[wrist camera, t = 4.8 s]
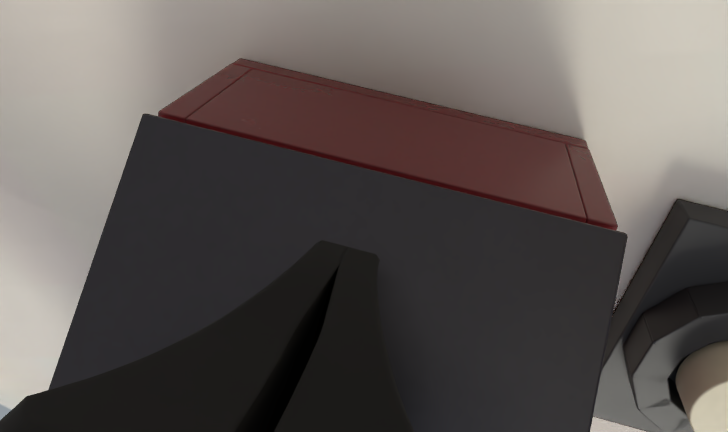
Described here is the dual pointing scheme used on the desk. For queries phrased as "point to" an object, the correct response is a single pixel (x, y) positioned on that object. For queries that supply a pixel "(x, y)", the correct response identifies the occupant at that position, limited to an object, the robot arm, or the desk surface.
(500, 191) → the dark red open box
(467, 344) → the dark grey box lid
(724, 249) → the control block
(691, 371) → the button
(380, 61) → the desk surface
